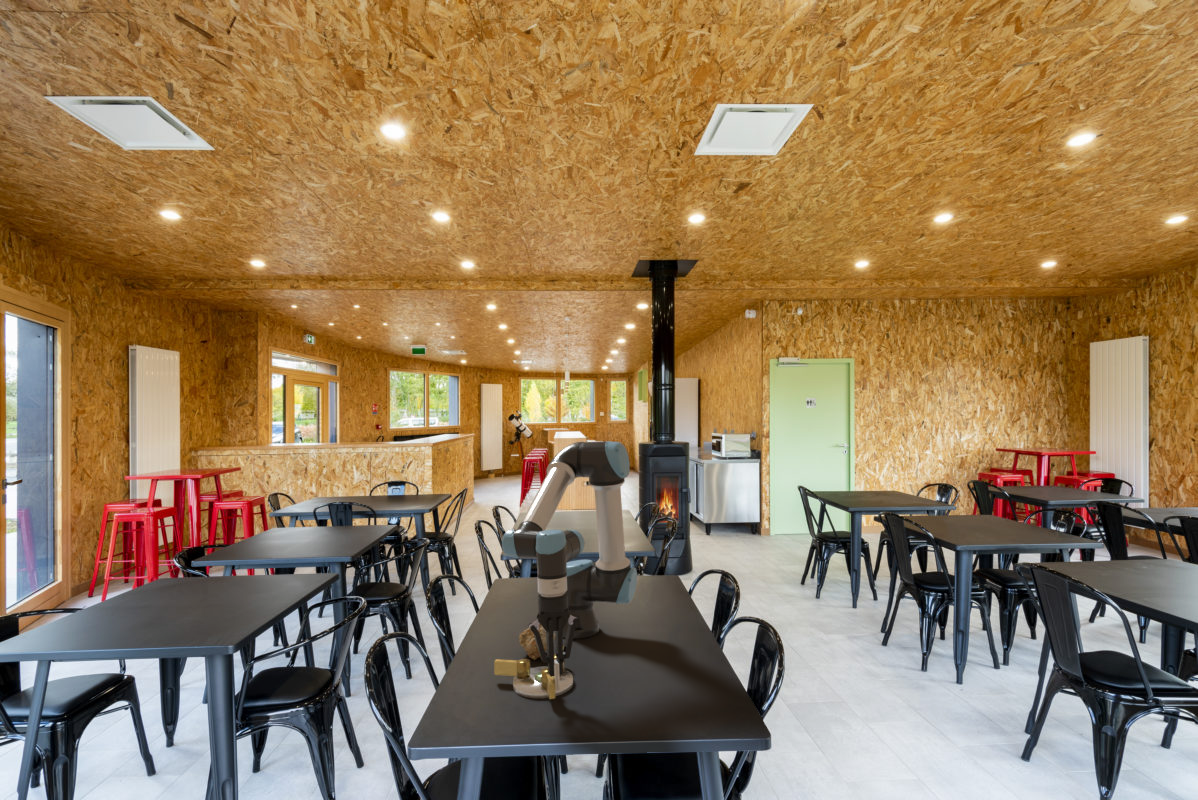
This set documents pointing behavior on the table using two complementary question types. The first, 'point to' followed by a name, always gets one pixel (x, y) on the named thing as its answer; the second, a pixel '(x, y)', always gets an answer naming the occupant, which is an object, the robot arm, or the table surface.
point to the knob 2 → (548, 683)
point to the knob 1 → (512, 668)
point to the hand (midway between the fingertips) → (556, 688)
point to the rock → (533, 642)
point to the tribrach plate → (533, 684)
